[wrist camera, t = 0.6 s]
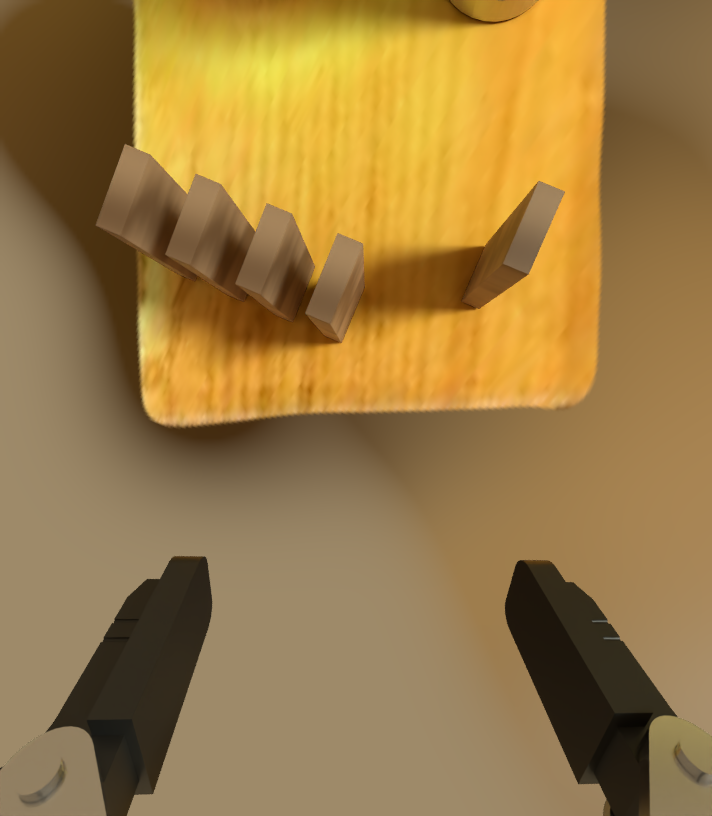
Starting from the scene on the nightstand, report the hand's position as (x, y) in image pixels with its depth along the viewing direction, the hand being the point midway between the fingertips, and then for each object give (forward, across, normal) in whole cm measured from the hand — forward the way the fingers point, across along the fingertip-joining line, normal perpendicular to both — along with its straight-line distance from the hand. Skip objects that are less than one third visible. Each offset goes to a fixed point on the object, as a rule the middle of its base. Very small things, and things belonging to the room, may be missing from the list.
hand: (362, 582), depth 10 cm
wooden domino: (+28, +8, -5) cm, 29 cm away
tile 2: (+26, 0, -3) cm, 26 cm away
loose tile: (+26, -11, -6) cm, 29 cm away
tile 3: (+27, +4, -4) cm, 27 cm away
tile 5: (+28, +13, -7) cm, 32 cm away
